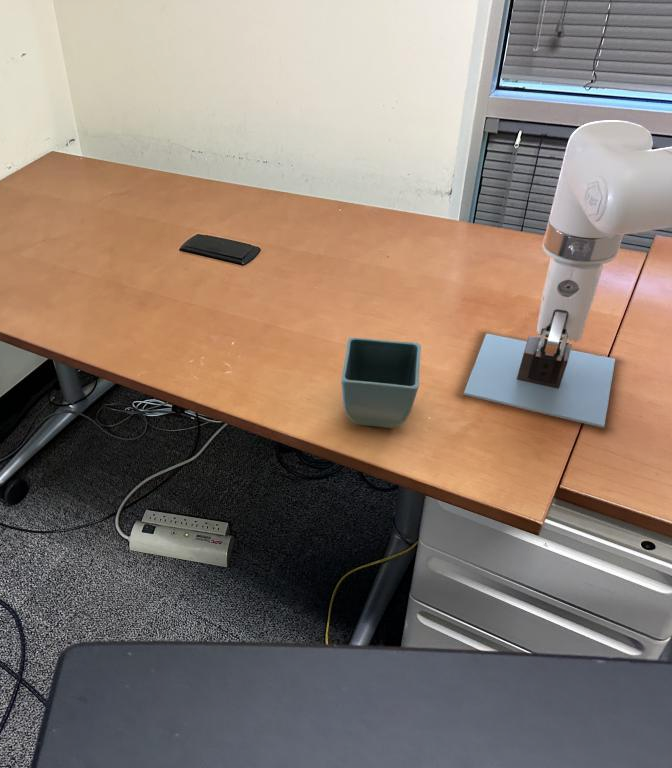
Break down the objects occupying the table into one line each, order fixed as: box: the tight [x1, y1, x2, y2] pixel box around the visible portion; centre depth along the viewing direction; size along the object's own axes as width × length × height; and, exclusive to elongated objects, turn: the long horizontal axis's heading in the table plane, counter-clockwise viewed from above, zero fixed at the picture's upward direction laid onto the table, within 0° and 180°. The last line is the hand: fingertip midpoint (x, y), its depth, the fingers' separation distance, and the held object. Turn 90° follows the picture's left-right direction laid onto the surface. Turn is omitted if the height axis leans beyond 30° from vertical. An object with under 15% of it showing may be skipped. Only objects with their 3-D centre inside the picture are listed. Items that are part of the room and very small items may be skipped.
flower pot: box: [340, 337, 422, 429], centre depth 86 cm, size 9×9×9 cm
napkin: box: [463, 333, 616, 429], centre depth 90 cm, size 16×14×1 cm
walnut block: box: [517, 335, 573, 389], centre depth 89 cm, size 5×4×4 cm
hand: (547, 358), depth 88 cm, fingers open, 9 cm apart
